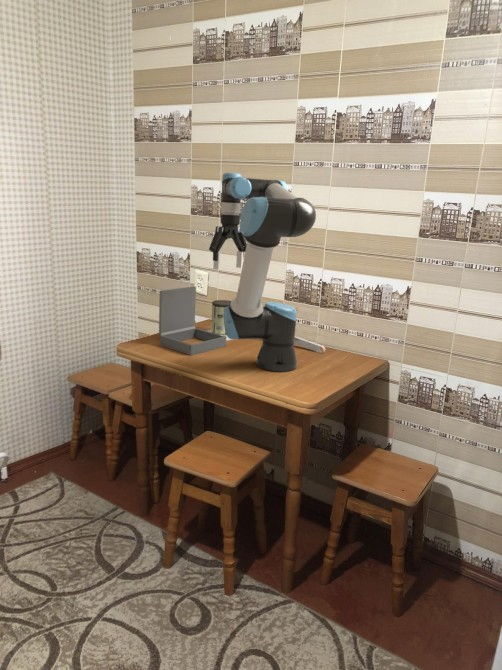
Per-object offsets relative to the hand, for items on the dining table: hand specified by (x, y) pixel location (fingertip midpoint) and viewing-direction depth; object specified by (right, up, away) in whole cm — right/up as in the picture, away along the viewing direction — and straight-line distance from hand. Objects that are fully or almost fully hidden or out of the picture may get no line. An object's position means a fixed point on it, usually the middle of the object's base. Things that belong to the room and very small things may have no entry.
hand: (228, 268), depth 213 cm
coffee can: (-4, -26, +23) cm, 35 cm away
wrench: (+27, -32, +13) cm, 43 cm away
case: (-14, -31, +4) cm, 34 cm away
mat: (-4, -27, +23) cm, 35 cm away
